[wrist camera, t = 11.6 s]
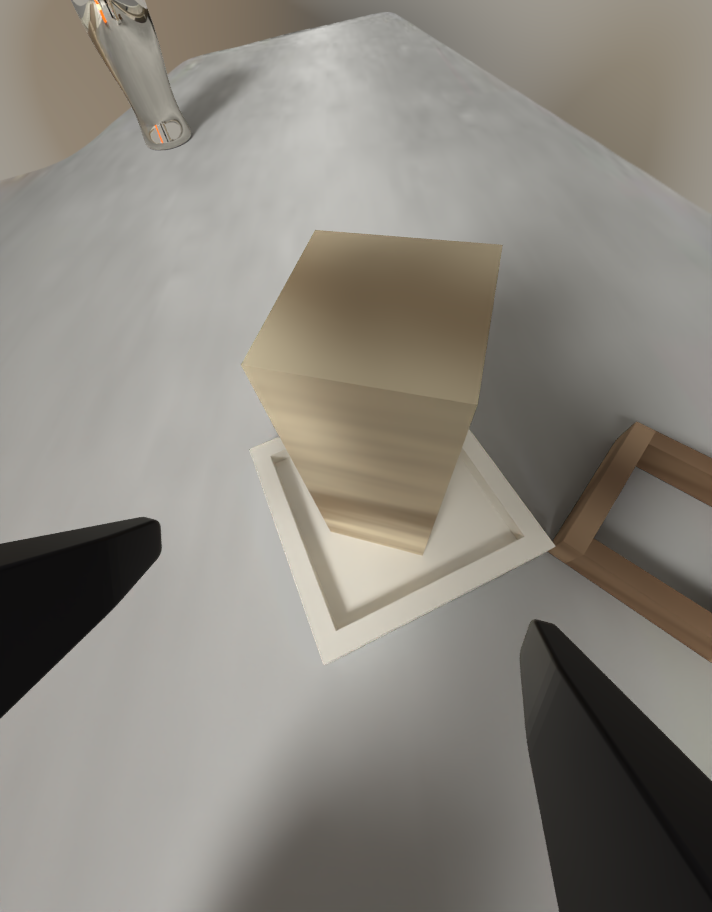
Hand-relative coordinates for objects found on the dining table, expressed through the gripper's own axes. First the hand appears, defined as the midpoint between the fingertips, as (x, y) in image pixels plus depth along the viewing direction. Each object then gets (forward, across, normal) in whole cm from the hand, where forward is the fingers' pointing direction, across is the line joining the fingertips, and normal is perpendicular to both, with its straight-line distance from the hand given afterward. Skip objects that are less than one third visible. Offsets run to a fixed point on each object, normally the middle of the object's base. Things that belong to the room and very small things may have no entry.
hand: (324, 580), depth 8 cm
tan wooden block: (+11, 0, +3) cm, 12 cm away
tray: (+12, 0, +3) cm, 12 cm away
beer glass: (+42, +39, -27) cm, 64 cm away
